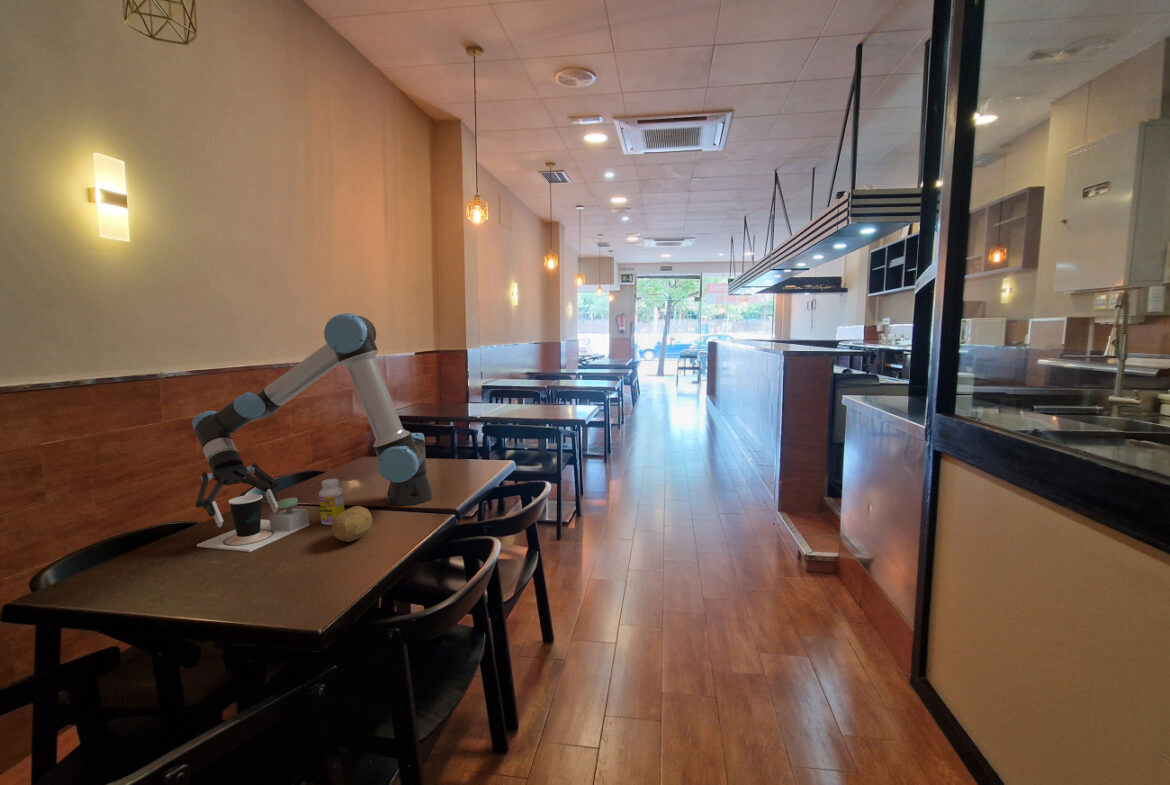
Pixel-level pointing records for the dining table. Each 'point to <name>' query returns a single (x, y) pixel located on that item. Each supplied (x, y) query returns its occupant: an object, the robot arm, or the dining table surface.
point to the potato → (351, 524)
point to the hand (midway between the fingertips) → (249, 516)
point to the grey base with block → (262, 532)
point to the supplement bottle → (330, 501)
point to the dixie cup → (246, 515)
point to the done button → (288, 504)
